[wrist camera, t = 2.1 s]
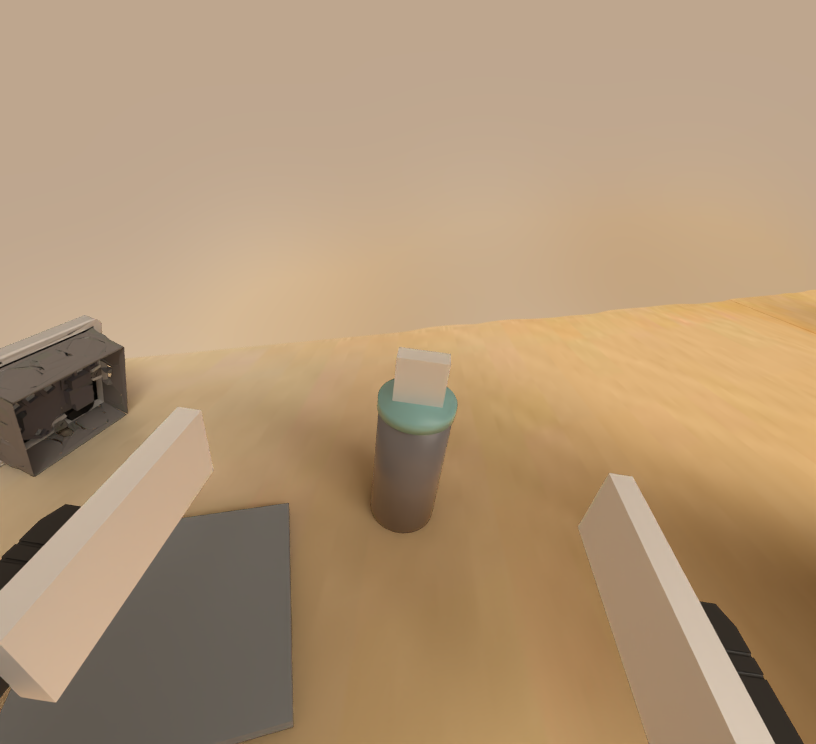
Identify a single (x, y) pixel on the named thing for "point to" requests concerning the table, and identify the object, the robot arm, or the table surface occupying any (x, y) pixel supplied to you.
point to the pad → (185, 646)
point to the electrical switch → (58, 392)
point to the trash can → (411, 439)
